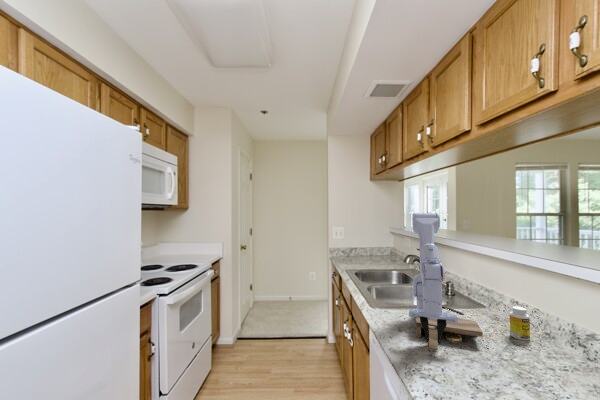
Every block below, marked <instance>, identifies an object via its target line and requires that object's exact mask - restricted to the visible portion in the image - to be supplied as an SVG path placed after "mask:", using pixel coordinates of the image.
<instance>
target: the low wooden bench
mask: <svg viewBox="0 0 600 400" xmlns="http://www.w3.org/2000/svg"><path fill="white" fill-rule="evenodd" d="M446 323H447V325H446V328H445V329H444V331H443V333H455V334H459V335H461V336H471V337H481V338H483V336H484V335H483V333H484V331H482V329H481V326H480V325H479V324H478V322H477V321H476V320H472V319H471V320H470V319H465V318H458V323H454V322H449V321H446ZM428 326H435V327H437V320H434V319H428ZM422 329H423V326H422V324H421V322H420V317H415V330H416V331H415V335H416V338H419V339H420V338H422ZM428 330H429V328H428Z"/></svg>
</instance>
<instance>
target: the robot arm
mask: <svg viewBox="0 0 600 400" xmlns="http://www.w3.org/2000/svg"><path fill="white" fill-rule="evenodd" d="M440 216H441V215H440V214H439V213H438V212H432V213H429V212H427V213H425V212H424V213H423V212H413V213H412V217H411V221H412V231H413V233H414V234H417V235H418V239H419V273H418V274H416V275H415V276H413V279H412V281H413V282H412V294H413V296H414V298H416V309H412V308H411V309H410V308H409V309H408V317H409V318H413V317H415V318H416V317H420V322H421V324H422V326H423V328H422V329H423V331H424V333H425V337H426V338H425V339H426V342H427V343H429V329H428V319H434V320H437V330H438V345H439V344H441V339H442V336H443V333H444V332H443V331H444V329H445V328H446V325H447V323H446V321H449V322H454V323H458V319H459V317H458V315H457V314H451V313H447V312H444V311H443V308H442V305H443V290H442V289H443V283H442V282H443V281H444V276H445V275H444V266H443V264H442V260H440V252H439V247H438V246H437V245H435V234H437V233H438V231H439V229H440V227H441V217H440Z"/></svg>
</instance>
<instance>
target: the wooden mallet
mask: <svg viewBox="0 0 600 400" xmlns="http://www.w3.org/2000/svg"><path fill="white" fill-rule="evenodd" d="M428 328H429V329H428V333H429V342H428V348H430V349H434V350H438V349H439V344H438V330H437V327H435V326H428Z"/></svg>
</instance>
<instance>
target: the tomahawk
mask: <svg viewBox="0 0 600 400" xmlns="http://www.w3.org/2000/svg"><path fill="white" fill-rule="evenodd" d="M442 307H444V308H443V309H445V308H447V309H446V310H448V309H449V310H448V311H450V310H451V312H454V313H455V312H456V314H458V313H459V314H458V315H461V316H464V315H465V313H464V312H461V311H459V310H456V309H453V308H451V307H448V306H445V305H443V304H442Z"/></svg>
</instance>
